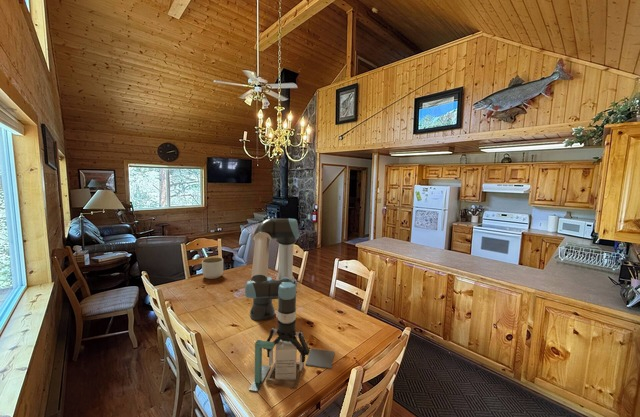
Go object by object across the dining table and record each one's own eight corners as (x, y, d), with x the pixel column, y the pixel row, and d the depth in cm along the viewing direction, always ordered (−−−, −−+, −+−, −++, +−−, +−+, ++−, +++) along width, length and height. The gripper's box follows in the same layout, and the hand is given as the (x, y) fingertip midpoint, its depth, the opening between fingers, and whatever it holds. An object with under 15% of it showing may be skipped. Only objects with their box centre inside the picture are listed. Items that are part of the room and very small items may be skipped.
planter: (197, 279, 221) (197, 262, 220) (209, 273, 238) (209, 256, 237) (216, 281, 219) (216, 263, 217) (227, 274, 235) (227, 257, 234)
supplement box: (276, 368, 120) (276, 337, 119) (296, 367, 121) (296, 336, 119) (274, 383, 111) (274, 349, 110) (295, 382, 112) (296, 349, 110)
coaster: (305, 365, 123) (305, 364, 123) (310, 349, 134) (310, 348, 134) (331, 369, 121) (331, 367, 120) (334, 352, 132) (334, 351, 132)
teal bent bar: (254, 382, 110) (255, 343, 108) (257, 378, 113) (257, 339, 111) (271, 385, 109) (272, 345, 107) (274, 381, 111) (274, 342, 110)
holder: (266, 383, 111) (266, 379, 110) (276, 363, 123) (276, 359, 123) (296, 388, 108) (296, 384, 108) (303, 367, 121) (303, 363, 121)
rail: (248, 390, 107) (248, 389, 107) (262, 366, 121) (262, 365, 121) (257, 392, 106) (257, 391, 106) (270, 367, 120) (270, 366, 120)
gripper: (255, 320, 112) (255, 367, 114) (313, 327, 108) (312, 376, 110) (262, 312, 119) (262, 356, 121) (317, 318, 115) (315, 364, 117)
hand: (285, 366), depth 115 cm, fingers open, 13 cm apart
